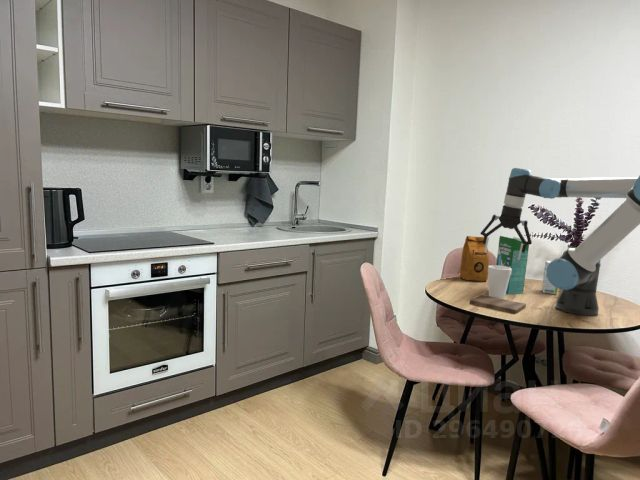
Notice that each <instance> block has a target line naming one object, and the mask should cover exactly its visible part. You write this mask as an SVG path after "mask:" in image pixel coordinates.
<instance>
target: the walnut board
mask: <svg viewBox="0 0 640 480" xmlns="http://www.w3.org/2000/svg"><path fill="white" fill-rule="evenodd" d="M470 304H471V305H474V306H479V307H483V308H489V309H492V310H497V311H502V312H505V313H511V314H515V315H516V314H518V313H519V312H521V311H522V310H524V309H526V306H527V304H526V303H524V302H519V301H512V300H509V299H505V298H504V299H500V298H495V297H490V296H489V295H484V294H480V295H478V296H476V297H474V298H473V297H472V298H471V299H469V305H470Z"/></svg>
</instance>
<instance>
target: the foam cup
mask: <svg viewBox="0 0 640 480" xmlns="http://www.w3.org/2000/svg"><path fill="white" fill-rule="evenodd" d="M511 271H512V269H511V268H509V267H505V266H497V265H496V264H491V265H490V264H489V266H488V279H487V281H488V285H487V286H488V296H490V297H495V298H500V299H505V297H506V295H507V294H506V290H507V286H508V283H509V279H510V275H511Z"/></svg>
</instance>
